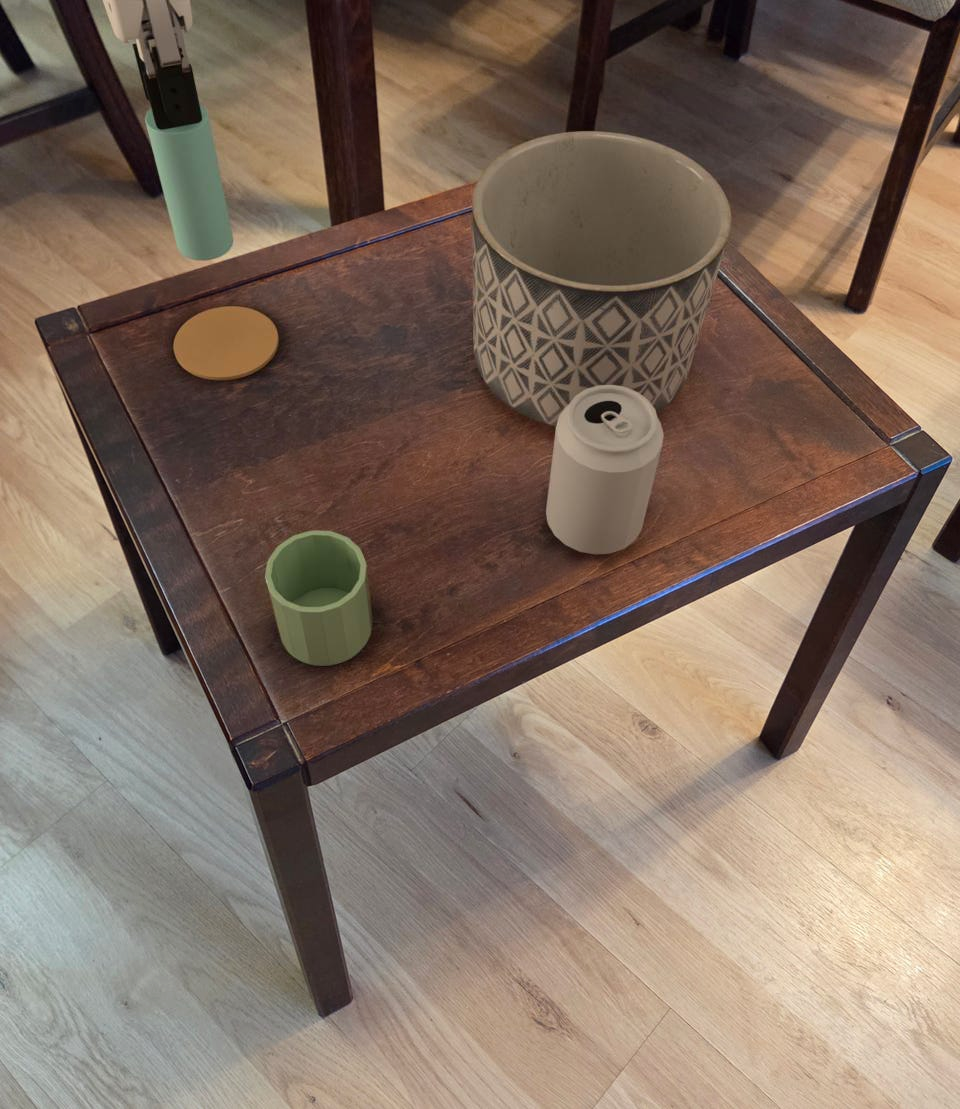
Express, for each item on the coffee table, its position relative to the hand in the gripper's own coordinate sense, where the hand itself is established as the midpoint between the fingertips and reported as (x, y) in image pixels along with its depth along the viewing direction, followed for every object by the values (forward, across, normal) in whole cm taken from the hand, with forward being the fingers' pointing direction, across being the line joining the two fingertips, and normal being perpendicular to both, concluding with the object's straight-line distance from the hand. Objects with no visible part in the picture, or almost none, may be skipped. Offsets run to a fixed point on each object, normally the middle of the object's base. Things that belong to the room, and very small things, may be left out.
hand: (173, 108), depth 74 cm
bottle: (+12, 0, 0) cm, 12 cm away
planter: (+22, +13, +28) cm, 38 cm away
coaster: (+22, 0, 0) cm, 22 cm away
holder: (+22, +31, 0) cm, 38 cm away
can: (+22, +29, +22) cm, 43 cm away
